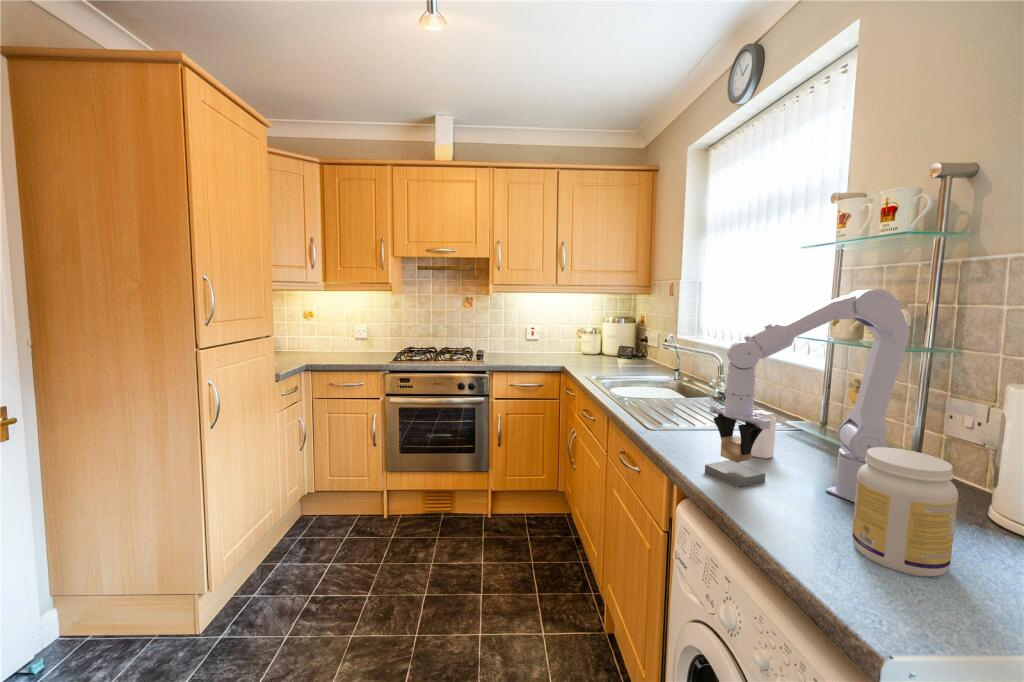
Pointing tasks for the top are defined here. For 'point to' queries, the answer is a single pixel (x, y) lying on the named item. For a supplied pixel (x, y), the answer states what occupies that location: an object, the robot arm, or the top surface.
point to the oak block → (733, 449)
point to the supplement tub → (905, 511)
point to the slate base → (735, 473)
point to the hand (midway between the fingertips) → (735, 450)
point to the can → (765, 436)
